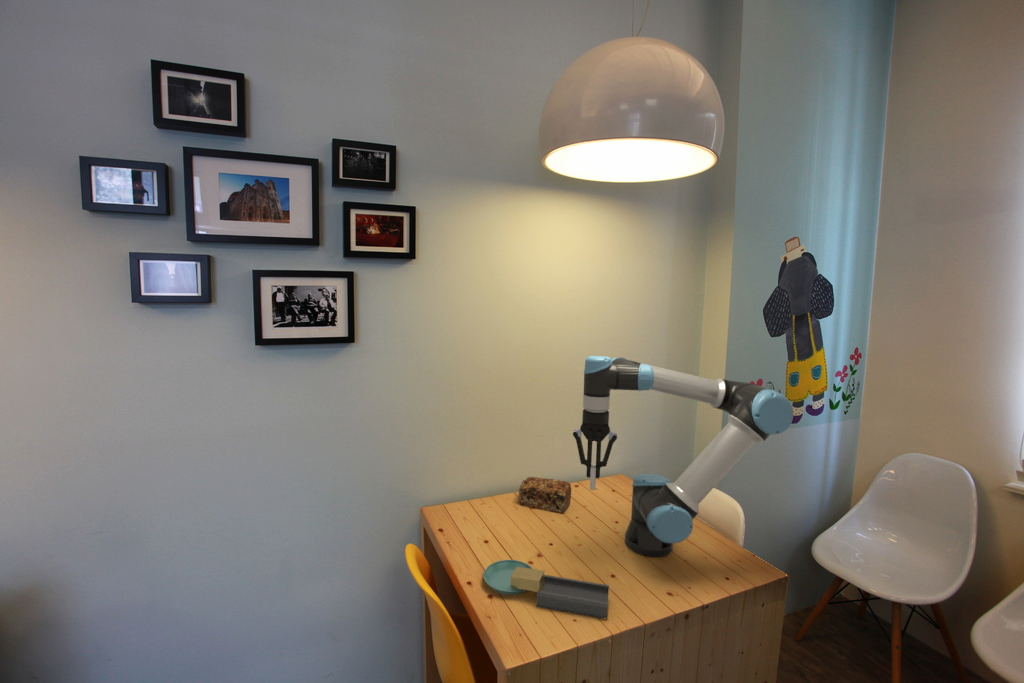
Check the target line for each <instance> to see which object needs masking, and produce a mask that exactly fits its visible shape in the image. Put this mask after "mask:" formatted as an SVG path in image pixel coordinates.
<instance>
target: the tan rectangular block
mask: <svg viewBox="0 0 1024 683" xmlns="http://www.w3.org/2000/svg"><path fill="white" fill-rule="evenodd" d="M545 575H546V573H545V570H543V569H537V568H536V569H535V568H533V569H530V568H522V567H516V569H515V570H514V572H513V574H512V575H511V588H516V589H523V590H526V591H531V592H536V593H537V590H539V591H541V589H542V587H543V585H544V582H545Z"/></svg>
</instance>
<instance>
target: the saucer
mask: <svg viewBox="0 0 1024 683" xmlns="http://www.w3.org/2000/svg"><path fill="white" fill-rule="evenodd" d="M516 567H522V568H530V569H534V568H533V567H532V566H530V565H529V564H528V563H526V562H523V561H520V560H515V559H503V560H501V559H500V560H497V561H495V562H492V563H491V564H489V565H488V566H487V567H486V568H485V570H484V571H483V580H484V581H485V583H486V585H487V586H489V588H490V589H491V590H493V591H495V592H496V593H498V594H500V595H503V596H516V595H520V594H523V593H524V592H526V591H527V590H523V589H516V588H511V575H512V574H513V572H514V570H515V569H516Z"/></svg>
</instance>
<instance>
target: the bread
mask: <svg viewBox="0 0 1024 683" xmlns="http://www.w3.org/2000/svg"><path fill="white" fill-rule="evenodd" d="M521 482H522V483H521V484H520V486H519V488H518V502H519V505H520V506H522V507H527V508H532V509H537V510H542V511H548V512H552V513H557V514H558V513H560V514H563V513H565V512H566V511H567V510H568V508H569V507H570V504H571V499H572V486H571V484H570V482H568V481H564V480H560V479H559V480H558V479H553V478H542V477H536V476H528V477H526V478H525V479H524V480H522V481H521Z"/></svg>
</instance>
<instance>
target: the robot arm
mask: <svg viewBox="0 0 1024 683" xmlns="http://www.w3.org/2000/svg"><path fill="white" fill-rule="evenodd" d="M612 390H614V391H618V390H619V391H638V392H640V391H650V390H651V391H655V392H659V393H662V394H663V393H664V394H667V395H672V396H676V397H681V398H684V399H690V400H693V401H697V402H702V403H705V404H708V405H710V407H711V408H713V409H718V410H719V411H720V410H721V411H723V412H726V413H728V414H727V419H728V421H727V424H726V425H725V426H724V427H723V428H722V429H721V430H720V431H719V432H718V433H717V435H716V436H715V437H714V438H713V439H712V440H711V441H710V443H709V444H707V445H706V447H705V448H704V449H703V450H702V451H701V452H700V453H699V455H697V457H696V458H694V460H693V461H692V462H691V463H690V464H689V466H687V467H686V469H685V470H684V471H683V472H682V473H681V475H680V476H679V477H677V479H675V481H673V482H671V480H670V478H668V477H666V476H663V475H660V474H654V473H653V474H651V473H644V474H643V473H640V474H637V475H635V476H634V478H633V479H632V480H633V481H632V485H631V486H632V495H631V516H630V517H631V518H630V521H629V524H628V526H627V528H626V531H625V532H624V544H625V546H626V547H627V548H628V549H629V550H630V551H632V552H634V553H636V554H639V555H641V556H645V557H650V558H661V557H666V556H668V555H670V554H672V552H673V546H674V544H679V543H681V542H683V541H685V540H687V538H689V537H690V536H691V534H692V532H693V528H694V527H693V526H694V522H693V520H694V519H695V517H697V515H698V514H699V513H700V509H699V506H700V505H699V504H700V503H701V502H702V501H703V500H704V499H705V498H706V497H707V496H708V494H710V493H711V491H712V490H713V489H714V488H715V487H716V486H717V485H718V483H719V482H720V481H721V480H723V478H724V477H725V476H726V475H727V474H728V473H729V471H730V470H731V469H732V468H733V467H734V466H735V465H736V464H737V463H738V462H739V460H741V458H742V457H743V456H744V455H745V454H746V453H747V452H748V451H749V450H750V448H751V447H752V446H754V444H756V443H764V442H765V441H766V440H767V439H768V437H770V436H771V435H781V434H783V433H784V432H785V431H787V430H788V429H789V427H790V426H791V425H792V422H793V419H794V410H793V408H794V407H793V406H792V404H791V402H790V400H789V399H788V398H787V397H786V396H785V395H784V394H782V393H780V392H778V391H777V390H774V389H772V388H771V389H770V388H766V387H763V386H760V385H758V384H756V383H755V384H754V383H752V382H745V381H735V380H729V379H724V378H719V377H718V378H716V379H715V380H714V379H710V378H706V377H701V376H697V375H694V374H688V373H686V372H680V371H677V370H673V369H668V368H663V367H659V366H656V365H653V364H652V365H651V364H647V363H642V362H638V361H633V360H630V359H626V358H625V357H620V356H619V357H614V358H611V357H610V356H606V355H590V356H586V358H585V360H584V371H583V394H582V396H583V398H582V408H583V409H582V421H581V422H582V423H581V425H580V426H579V427H580V428H578V429H574V430H573V431H572V432H573V433H572V436H573V437H574V439H575V441H576V446H577V451H578V457H579V461H580V462H579V463H580V464H581V465H584V466H586V477H587V478H590V479H589V481H590V482H589V490H591V491H596V485H597V484H596V480H597V479H600V476H601V468H603V467H604V468H606V467H607V465H608V461H609V458H610V455H611V452H612V449H613V445H614V443H615V442H616V440H617V439H618V434H617V433H615V432H613V431H611V428H610V426H609V425H610V424H609V420H610V411H609V410H610V401H611V400H610V399H611V398H610V397H611V391H612ZM582 434H583V436H584V437H585V439H586V440H587V452H586V453H587V454H586V455H587V456H586V455H585V452H584V445H583V441H582V438H581V436H582ZM607 436H608V437H607ZM606 437H607V438H608V442H607V446H606V448H605V449H606V450H605V452H604V455H603V458H602V452H601V451H602V441H604V440H605V439H606ZM593 442H596V448H595V450H596V452H595V453H596V454H595V458H596V459H595V464H592V460H593V458H592V457H593ZM585 456H586V457H585ZM601 458H602V459H601Z"/></svg>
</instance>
